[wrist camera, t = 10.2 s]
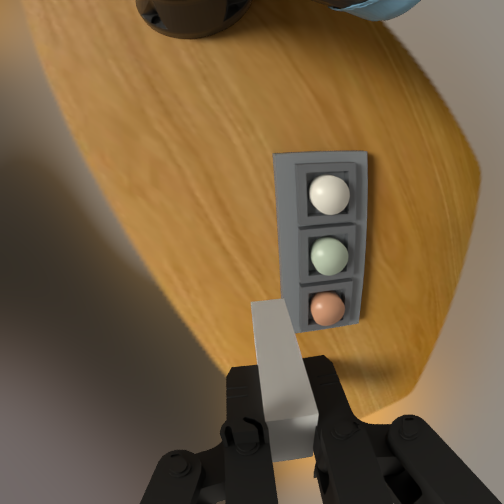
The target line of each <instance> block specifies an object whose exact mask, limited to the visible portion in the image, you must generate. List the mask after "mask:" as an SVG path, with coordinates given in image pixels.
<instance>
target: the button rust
mask: <svg viewBox="0 0 504 504" xmlns="http://www.w3.org/2000/svg"><path fill="white" fill-rule="evenodd" d="M309 308H310V311H311V313H312V315H313V318H314V320H315V322H316V323H318V324H319V325H322V326H330V325H333V324H335V323H337V322H338V321H339V320H340V319H341V318H342V317H343V315H344V312H345V306H344V303H343V302H342V300H341V299H340V297H339V295H338V294H337V293H336V292H335V291H333V290H330V291H323V292H317V293H316V294H315V295H314V296H313V297H312V298H311V300H310V303H309Z"/></svg>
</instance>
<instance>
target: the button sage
mask: <svg viewBox="0 0 504 504" xmlns="http://www.w3.org/2000/svg"><path fill="white" fill-rule="evenodd" d="M309 256H310V259H311V261H312V263H313V264H314V266H315V268H316V269H317V271H318V272H319V273H321V274H323V275H328V276H330V275H335V274H337V273H339V272H340V271H342V270H343V269H344V267H345V266H346V264H347V262H348V251H347V249H346V247H345V246H344V245H343V244H342V243H341V242H340V241H339V240H338V239H337V238H335V237H333V236H329V235H326V236H322V237H319V238H318V239H316V240H315V241H314V242H313V244H312V245H311V247H310V251H309Z"/></svg>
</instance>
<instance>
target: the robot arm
mask: <svg viewBox="0 0 504 504" xmlns="http://www.w3.org/2000/svg"><path fill="white" fill-rule="evenodd" d="M312 1H315V2H318V3H321V4H324V5H326V6H328V8H330V9H333V10H336V11H344V12H347V13H350V14H353V15H355V16H358V17H360V18H363V19H366V20H370V21H379V20H384V21H385V20H390V19H392V18H395V17H398V16H400V15H402V14H404V13H405V12H407V11H408V10H410V9H411V8H412V7H413V6H415V5H416V4H417V3H418V2H420V1H421V0H312ZM251 2H252V0H136V6H137V9H138V12H139V14H140V15H141V17H142V18H143V19H144V21H145V22H146V23H147V24H148V25H149V26H150V27H151V28H152V29H154V30H155V31H157V32H159V33H161V34H163V35H166V36H169V37H174V38H182V39H192V38H200V37H205V36H209V35H213V34H215V33H218V32H220V31H223V30H225V29H226V28H228V27H230V26H231V25H233V24H234V23H236V22H237V21H238V20H239V19H240V18H241V17H242V16H243V15H244V14H245V13H246V11H247V10H248V8H249V6H250V4H251ZM251 309H252V319H253V329H254V338H255V348H256V357H257V365H251V366H240V367H232V368H231V370H230V372H229V373H228V375H227V377H226V387H227V390H226V395H227V399H226V400H227V402H226V403H227V420H226V421H225V423H224V424H223V425H222V427H221V430H220V435H221V438H222V442H221V443H220V444H219V445H217V446H216V447H214V448H212V449H209V450H207V451H203V452H200V453H197V454H194V453H192V452H189V451H187V450H174V451H171V452H168V453H167V454H165V455H164V456H162V458H161V459H160V461H159V462H158V464H157V466H156V469H155V471H154V473H153V475H152V478H151V480H150V482H149V485H148V487H147V489H146V491H145V493H144V496H143V498H142V500H141V502H140V504H216V503H217V502H219V501H223V500H226V504H278V498H277V491H276V485H275V477H274V470H273V463H272V462H279V461H286V460H293V459H299V458H306V457H311V456H313V451H314V455H315V459H316V464H315V469H314V478H317V480H318V484H319V488H320V493H321V497H322V501H323V504H393V503H394V504H502V503H501V502H500V501H499V500H498V499H497V498H496V497H495V496H494V494H493V493H492V492H491V491H490V490H489V489H488V488H487V487H486V486H485V485H484V484H483V482H481V480H480V479H479V478H478V477H477V476H476V475H475V474H474V473H473V472H472V471H471V470H470V469H469V468H468V466H467V465H466V464H465V463H464V462H463V461H462V460H461V459H460V458H459V457H458V456H457V455H456V453H455V452H454V451H453V450H452V449H451V448H450V447H449V446H448V445H447V444H446V443H445V442H444V441H443V440H442V439H441V438H440V436H439V435H438V434H437V433H436V432H435V431H434V430H433V429H432V428H431V427H430V426H429V425H428V424H427V423H426V422H425V421H424V420H423V419H422V418H420V417H418V416H415V415H403V416H400V417H398V418H397V419H395V420H394V421H393V422H392V424H368V423H365V422H362V421H361V420H359V419H358V418H357V417H356V416H355V415H354V414H353V412H352V411H351V408H350V406H349V403H348V400H347V398H346V395H345V393H344V390H343V388H342V385H341V383H340V380H339V378H338V375H337V374H336V371H335V368H334V366H333V363H332V362H331V361H330V360H329V359H328V358H326V357H325V356H324V355H320V356H314V357H308V358H302V356H301V353H300V349H299V346H298V343H297V339H296V336H295V333H294V330H293V326H292V323H291V320H290V317H289V313H288V310H287V307H286V304H285V300H284V298H283V299H275V300H266V301H256V302H251Z"/></svg>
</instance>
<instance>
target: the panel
mask: <svg viewBox="0 0 504 504" xmlns="http://www.w3.org/2000/svg"><path fill="white" fill-rule="evenodd" d="M273 166H274V180H275V195H276V210H277V227H278V244H279V263H280V284H281V299H283V298H284V300H285V304H286V307H287V310H288V313H289V317H290V320H291V323H292V326H293V330H294V333H301V332H308V331H315V330H321V329H328V328H334V327H340V326H346V325H352V324H357V323H359V315H360V307H361V298H362V288H363V277H364V264H365V249H366V230H367V193H368V174H367V151H309V152H288V153H273ZM321 174H330V175H333V176H336V177H338V178H340V179H342V180H343V181H344V182H345V183H346V184H347V186H348V188H349V192H350V198H349V202H348V204H347V206H346V207H345V209H344V210H342V211H341V212H339V213H337V214H334V215H327V214H324V213H322V212H320V211H319V210H318V209H317V208H316V207H314V206H313V205H312V203H311V202H310V200H309V197H308V188H309V185H310V183H311V181H312V180H313V179H314V178H315V177H317V176H319V175H321ZM326 235H329V236H333V237H335V238H337V239H338V240H339V241H340V242H341V243H342V244H343V245H344V246H345V247H346V249H347V251H348V262H347V264H346V266H345V267H344V269H343V270H342V271H340V272H339V273H337V274H335V275H330V276H328V275H323V274H321V273H319V272H318V271H317V269H316V268H315V266H314V264H313V263H312V261H311V259H310V256H309V251H310V247H311V245H312V244H313V242H314V241H315V240H316V239H318V238H319V237H322V236H326ZM330 290H333V291H335V292H336V293H337V294H338V295H339V297H340V299H341V300H342V302H343V303H344V306H345V312H344V315H343V317H342V318H341V319H340V320H339V321H338V322H337V323H335V324H333V325H330V326H322V325H319V324H318V323H316V322H315V320H314V318H313V315H312V313H311V311H310V308H309V303H310V300H311V298H312V297H313V296H314V295H315V294H316V293H317V292H323V291H330Z"/></svg>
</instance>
